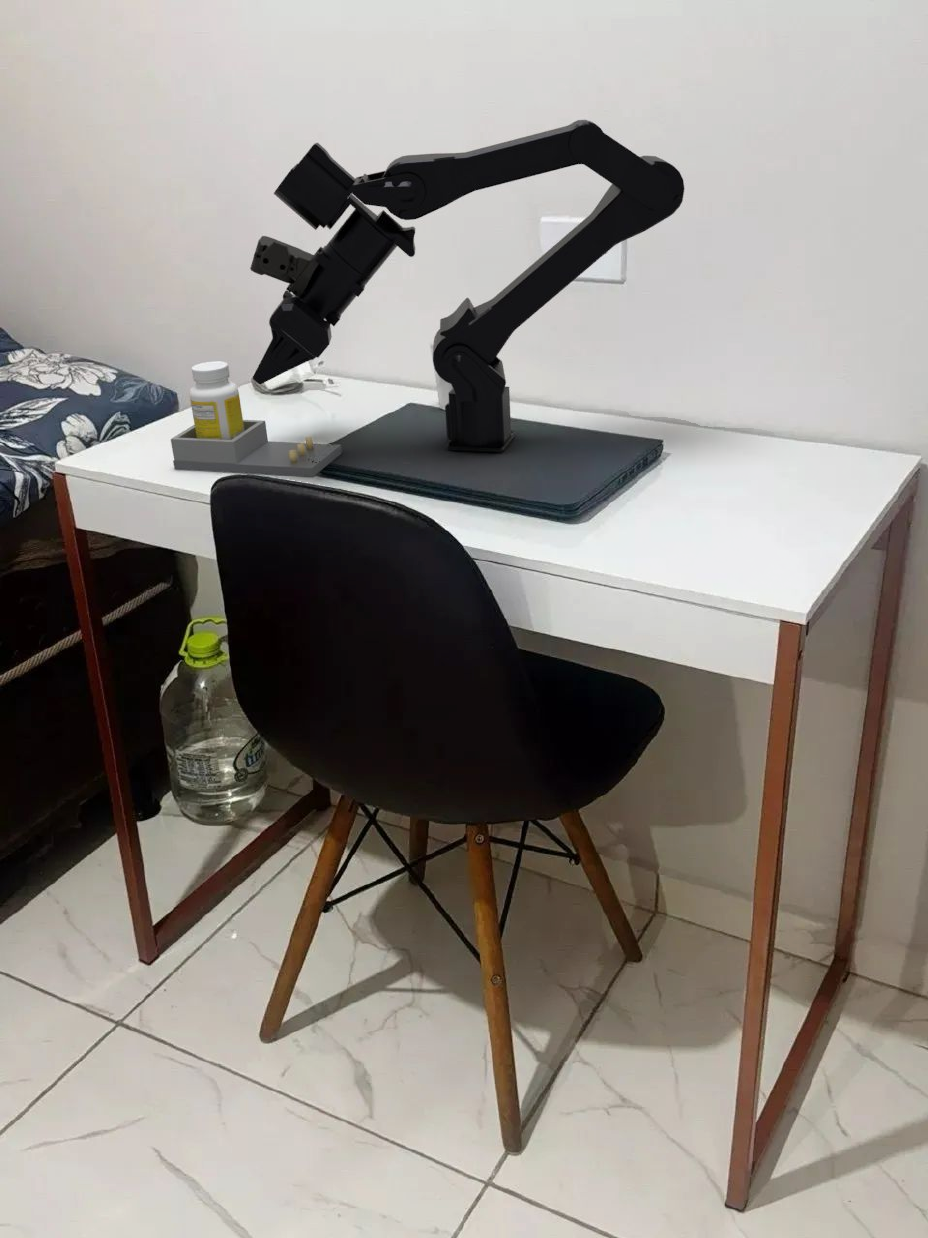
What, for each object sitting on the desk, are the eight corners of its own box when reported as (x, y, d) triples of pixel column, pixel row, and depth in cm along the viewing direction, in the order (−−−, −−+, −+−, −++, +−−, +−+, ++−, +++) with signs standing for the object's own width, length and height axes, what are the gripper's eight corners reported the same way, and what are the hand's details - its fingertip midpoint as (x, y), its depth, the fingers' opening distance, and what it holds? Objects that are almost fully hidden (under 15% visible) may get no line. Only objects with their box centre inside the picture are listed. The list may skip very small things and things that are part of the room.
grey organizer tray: (341, 453, 134) (338, 423, 133) (313, 476, 127) (309, 445, 126) (208, 446, 139) (204, 417, 138) (174, 469, 132) (169, 439, 131)
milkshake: (472, 399, 151) (468, 320, 146) (468, 411, 146) (464, 330, 142) (437, 400, 151) (432, 321, 147) (432, 412, 147) (426, 331, 142)
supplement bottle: (242, 440, 137) (229, 356, 133) (251, 453, 133) (239, 367, 128) (195, 447, 136) (181, 363, 131) (203, 461, 131) (189, 374, 127)
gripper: (298, 196, 131) (215, 304, 136) (279, 220, 114) (185, 342, 119) (376, 263, 135) (292, 366, 140) (368, 296, 118) (274, 412, 123)
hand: (261, 370), depth 130 cm, fingers open, 9 cm apart
